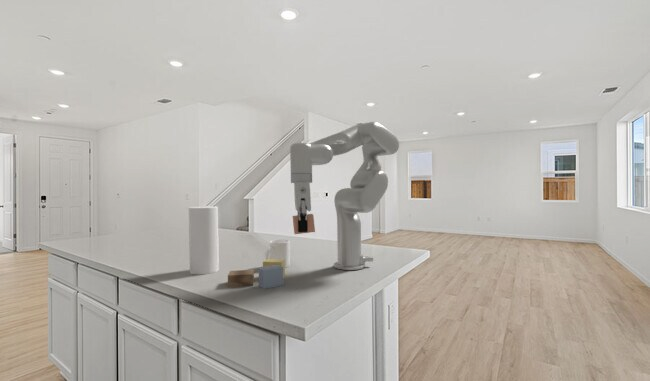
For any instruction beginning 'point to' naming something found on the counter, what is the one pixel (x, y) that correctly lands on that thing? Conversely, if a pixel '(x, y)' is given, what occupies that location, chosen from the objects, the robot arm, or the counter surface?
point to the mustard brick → (275, 263)
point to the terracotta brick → (309, 220)
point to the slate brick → (270, 276)
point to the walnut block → (241, 278)
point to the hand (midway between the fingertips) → (302, 230)
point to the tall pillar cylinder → (203, 240)
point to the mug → (279, 251)
